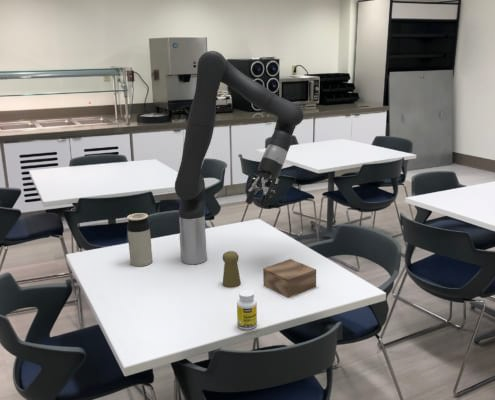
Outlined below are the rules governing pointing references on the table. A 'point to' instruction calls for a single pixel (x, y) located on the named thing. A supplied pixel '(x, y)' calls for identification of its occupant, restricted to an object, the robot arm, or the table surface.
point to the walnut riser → (289, 277)
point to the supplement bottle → (246, 310)
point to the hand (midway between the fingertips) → (254, 205)
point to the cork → (231, 270)
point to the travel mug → (139, 239)
